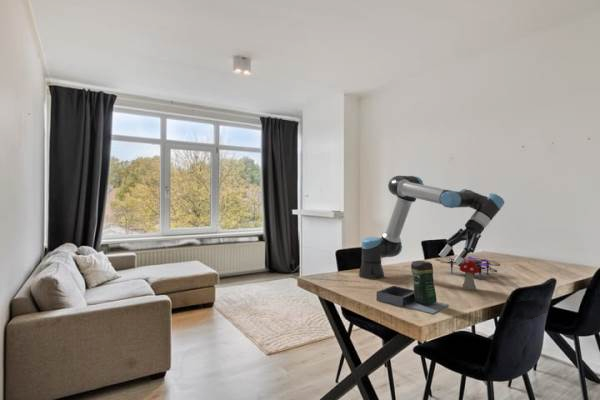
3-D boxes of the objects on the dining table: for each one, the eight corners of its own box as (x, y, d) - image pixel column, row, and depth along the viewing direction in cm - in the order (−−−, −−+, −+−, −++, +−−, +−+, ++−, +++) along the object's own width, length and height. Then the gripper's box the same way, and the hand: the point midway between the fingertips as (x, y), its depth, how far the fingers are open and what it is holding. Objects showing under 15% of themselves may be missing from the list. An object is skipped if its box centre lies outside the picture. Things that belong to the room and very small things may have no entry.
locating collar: (376, 300, 155) (376, 291, 155) (393, 293, 166) (393, 285, 166) (402, 307, 145) (402, 298, 145) (418, 299, 156) (418, 291, 156)
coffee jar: (440, 303, 146) (435, 261, 147) (424, 306, 144) (420, 263, 145) (426, 298, 155) (422, 258, 156) (411, 301, 153) (407, 260, 154)
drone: (431, 256, 215) (458, 252, 229) (431, 271, 215) (458, 266, 229) (493, 267, 181) (520, 262, 195) (493, 285, 181) (520, 278, 195)
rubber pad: (406, 307, 145) (406, 306, 145) (422, 299, 156) (422, 298, 156) (433, 314, 136) (433, 313, 136) (448, 305, 148) (448, 304, 148)
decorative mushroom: (455, 287, 177) (455, 259, 177) (467, 285, 180) (467, 258, 180) (471, 292, 168) (471, 262, 168) (483, 290, 171) (483, 261, 171)
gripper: (501, 232, 139) (469, 271, 139) (467, 225, 164) (441, 258, 164) (488, 221, 139) (456, 260, 138) (456, 216, 163) (430, 249, 163)
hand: (448, 259), depth 151 cm, fingers open, 13 cm apart
